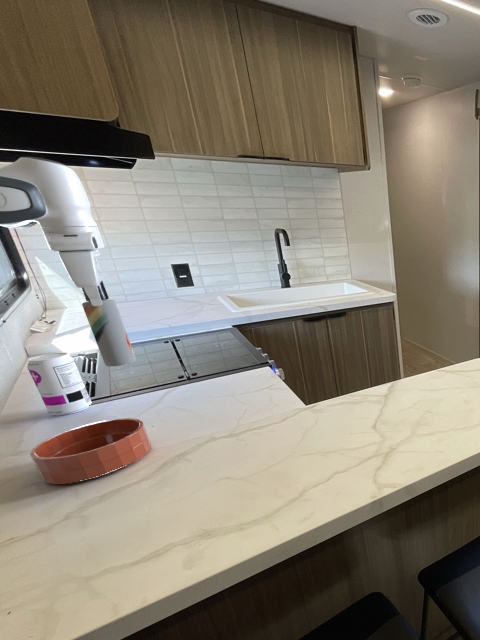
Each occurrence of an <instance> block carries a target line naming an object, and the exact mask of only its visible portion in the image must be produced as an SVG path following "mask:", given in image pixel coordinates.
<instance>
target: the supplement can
mask: <svg viewBox="0 0 480 640" xmlns="http://www.w3.org/2000/svg"><path fill="white" fill-rule="evenodd" d="M26 366H27V367H26V368H27V370H28V372H29V374H30V376H31V378H32V380H33V383H34V385H35V386H36V389H37V391H38V393H39V395H40V397H41V400H42V402H43V403H44V406H45V408H46V410H47V412H48V414H50V415H53V416H66V415H71V414H75V413H79V412H81V411H84V410H87V409H88V408H89V407H90V406H91V405H92V402H93V401H92V400H91V397H90V395H89V392H88V390H87V387H86V386H85V383H84V381H83V378H82V376H81V373H80V372H79V368H78V367H77V365H76V363H75V360H74V357H72V356H71V355H69V353H68V352H53V353H47V354H41V355H38V356H37V355H36V356H33V357H31V358H29V359H28V360H27V365H26ZM89 405H90V406H89Z"/></svg>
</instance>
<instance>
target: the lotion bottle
mask: <svg viewBox="0 0 480 640" xmlns="http://www.w3.org/2000/svg"><path fill="white" fill-rule="evenodd" d="M103 281H104V280H102V281H101V283H100V284H99V286H97V287H98V291H99V294H100V297H101V300H102V302H103V304H102V305H101V306H92V304H91V302H90V299H89V297H88V296H87V294H86V292H85V290H84V288H81V290H82V294H83V296H84V299H85V301H84V302H82V303H81V306H82V309H83V312H84V314H85V317H86V319H87V321H88V324H89V327H90V330H91V332H92V335H93V338H94V340H95V342H96V345H97V347H98V350H99V353H100V355H101V358H102V361H103V363H104V365H105V366H106V367H120V366H126V365H130V364H132V363H135V362H136V361H137V360H136V356H135V352H134V349H133V347H132V345H131V341H130V339H129V336H128V333H127V330H126V328H125V324H124V321H123V319H122V317H121V313H120V311H119V307H118V305H117V302H116V300H115V299H110V297H109V295H108V292H107V289H106V287H105V284H104V282H103Z"/></svg>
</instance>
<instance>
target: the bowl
mask: <svg viewBox="0 0 480 640" xmlns="http://www.w3.org/2000/svg"><path fill="white" fill-rule="evenodd" d="M151 449H152V442H151V440H150V437H149V434H148V431H147V429H146V427H145V424H144V422H143V420H141V419H138V418H132V417H131V418H130V417H127V418H114V419H107V420H101V421H96V422H92V423H88V424H85V425H84V424H83V425H81V426H78V427H75V428H72V429H69V430H68V429H67V430H66V431H63V432H61V433H58V434H55V435H53V436H51V437H48V438H47V439H45V440H43V441H41V442H40V443H38V444H37V445H36V446H34V447H33V448H32V449H31V451H30V453H29V456H30V458H31V460H32V462H33V464H34V465H35V467H36V470H37V471H38V473H39V475H40V478H41V479H42V480H43V481H44V482H45V483H46V484H50V485H51V484H52V485H67V483H68V484H72V483H71V482H75V483H77V482H76V481H80V480H85V479H89V478H93V477H96V476H100V475H102V474H105V473H107V472H110V471H112V470H115V469H118V468H120V467H123V466H125V465H128V464H130V463H132V462H134V461H136V460H138V459H139V460H141V459H142V458H143V457H145V456H146V455H148V453H149V452H150V451H151ZM141 457H142V458H141ZM139 460H138V461H139ZM136 462H137V461H136ZM134 463H135V462H134ZM132 464H133V463H132ZM130 465H131V464H130Z"/></svg>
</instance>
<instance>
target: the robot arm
mask: <svg viewBox="0 0 480 640" xmlns="http://www.w3.org/2000/svg"><path fill="white" fill-rule="evenodd" d="M91 208H92V207H91V203H90V200H89V197H88V193H87V191H86V190H85V187H84V185H83V183H82V181H81V178H79V175H78V174H77V173H76V171H74V170H73V168H71V167H69V166H67V165H66V164H64V163H62V162H59V161H55V160H52V159H47V158H43V157H35V156H34V157H33V156H21V157H19V158H18V159H17V160H15V161H14V162H12V163H10V164H8V165H4V166H2V167H0V226H1V227H4V228H8V229H16V230H17V229H19V230H20V229H27V228H31V227H33V226H36V225H37V224H39V226H40V229H41V230H42V234H43V236H44V239H45V241H46V244H47V246H48V249H49V251H52V252H57V253H58V256H59V259H60V260H61V262H62V265H63V267H64V269H65V270H66V272H67V274H68V276H69V279H70V280H71V281H72V282H73V285H74V286H75V287H76V288H78V289H82V288H84V290H85V292H86V294H87V296H88V297H89V299H90V302H91V304H92V306H101V305H102V304H103V302H102V300H101V297H100V294H99V291H98V287H97V286H99V284H100V283H101V281H104V274H103V272H102V269H101V266H100V263H99V261H98V257H101V253H100V250H101V249H106V245H105V243H104V240H103V236H102V234H101V231H100V229H99V226H98V223H97V222H96V221H95V219H94V218H93V215H92V209H91Z"/></svg>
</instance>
